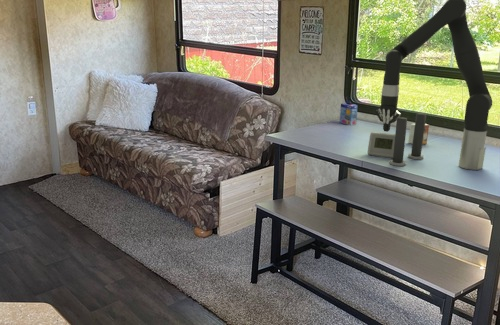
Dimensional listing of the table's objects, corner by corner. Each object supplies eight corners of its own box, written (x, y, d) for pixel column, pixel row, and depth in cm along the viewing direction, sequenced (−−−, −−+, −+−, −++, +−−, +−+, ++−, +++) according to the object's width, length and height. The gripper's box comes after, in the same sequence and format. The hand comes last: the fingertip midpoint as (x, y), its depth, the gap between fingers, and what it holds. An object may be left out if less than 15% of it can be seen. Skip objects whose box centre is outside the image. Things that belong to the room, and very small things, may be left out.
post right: (425, 157, 236) (431, 114, 230) (419, 160, 231) (424, 116, 225) (412, 154, 240) (417, 112, 235) (405, 157, 236) (410, 113, 230)
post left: (408, 164, 224) (413, 118, 219) (400, 166, 219) (405, 120, 214) (394, 161, 229) (398, 116, 223) (386, 163, 224) (390, 118, 219)
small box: (414, 145, 259) (417, 125, 256) (407, 142, 264) (410, 123, 261) (427, 144, 262) (429, 124, 259) (419, 141, 267) (422, 122, 264)
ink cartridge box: (338, 122, 311) (340, 99, 307) (345, 121, 314) (346, 99, 310) (350, 125, 304) (352, 102, 300) (356, 124, 307) (358, 101, 303)
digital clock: (365, 154, 238) (367, 133, 235) (372, 151, 246) (374, 130, 243) (398, 161, 230) (400, 138, 226) (404, 156, 237) (407, 135, 234)
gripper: (407, 95, 226) (403, 132, 231) (381, 92, 235) (378, 127, 240) (398, 97, 221) (394, 134, 226) (373, 93, 230) (369, 129, 235)
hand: (386, 131), depth 233 cm, fingers closed
